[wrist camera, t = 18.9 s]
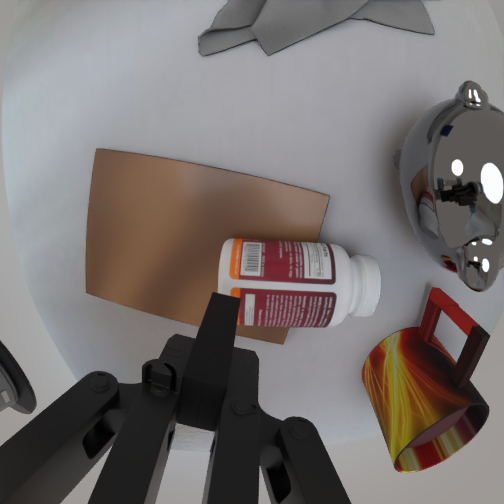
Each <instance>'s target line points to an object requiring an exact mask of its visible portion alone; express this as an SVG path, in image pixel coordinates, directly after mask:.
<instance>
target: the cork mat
mask: <svg viewBox="0 0 504 504" xmlns="http://www.w3.org/2000/svg"><path fill="white" fill-rule="evenodd" d="M329 199H330V196H329V195H326V194H322V193H319V192H315V191H311V190H308V189H304V188H300V187H297V186H293V185H289V184H285V183H281V182H277V181H273V180H269V179H265V178H261V177H256V176H252V175H248V174H243V173H239V172H234V171H230V170H225V169H220V168H215V167H210V166H205V165H200V164H195V163H190V162H185V161H179V160H173V159H168V158H162V157H156V156H149V155H143V154H136V153H130V152H123V151H115V150H107V149H98V148H97V149H96V152H95V158H94V165H93V172H92V179H91V187H90V196H89V207H88V219H87V236H86V293H88V294H91V295H93V296H96V297H99V298H102V299H105V300H108V301H112V302H115V303H118V304H121V305H124V306H127V307H131V308H134V309H137V310H140V311H144V312H147V313H151V314H154V315H158V316H161V317H165V318H168V319H172V320H176V321H180V322H183V323H187V324H191V325H195V326H199V327H200V325H201V322H202V320H203V317H204V314H205V311H206V309H207V306H208V303H209V301H210V298H211V295H212V292H216V293H218V272H219V262H220V256H221V251H222V247H223V245H224V243H225V242H226V241H227V240H228V239H255V240H275V241H292V242H309V243H317V241H318V237H319V234H320V231H321V227H322V224H323V220H324V217H325V213H326V210H327V206H328V202H329ZM288 330H289V327H277V326H252V325H237V328H236V334H235V335H238V336H242V337H247V338H252V339H256V340H261V341H266V342H272V343H277V344H282V345H283V344H284V341H285V338H286V336H287V333H288Z"/></svg>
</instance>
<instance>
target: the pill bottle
mask: <svg viewBox="0 0 504 504" xmlns="http://www.w3.org/2000/svg"><path fill="white" fill-rule="evenodd" d="M380 292H381V275H380V270H379V266H378V263H377V261H376V260H375V259H374V258H373V257H371V256H364V255H354V256H352V257H351V258H349V256H348V254H347V253H346V251H345V250H344V249H343V248H342V247H340V246H338V245H336V244H327V243H309V242H292V241H275V240H255V239H228V240H227V241H226V242H225V243H224V245H223V247H222V251H221V256H220V262H219V272H218V293H220V294H225V295H229V296H233V297H238V298H241V302H240V308H239V315H238V321H237V325H252V326H277V327H334V326H336V325H338V324H340V323H341V322H342V321H343V320H344V318H345V317H346V315H347V314H348V315H349V316H350V317H369V316H371V315H372V314H373V313H374V311H375V309H376V307H377V305H378V301H379V297H380Z"/></svg>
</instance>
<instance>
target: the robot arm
mask: <svg viewBox="0 0 504 504" xmlns="http://www.w3.org/2000/svg"><path fill="white" fill-rule="evenodd" d="M240 302H241V298H238V297H233V296H229V295H225V294H220V293H216V292H212V295H211V298H210V301H209V303H208V306H207V309H206V311H205V314H204V317H203V320H202V322H201V325H200V328H199V331H198V334H197V336H196V339H195V338H191V337H187V336H183V335H179V334H175V335H173V336H172V337H171V338H169V339H168V341H167V343H166V345H165V348H164V349H163V351H162V354H161V355H160V357H159V359H153V360H150V361H147V362H146V363H145V364H144V365H143V366H142V382H141V383H137V384H124V383H118V381H117V379H116V378H115V377H114V376H113V375H112V374H110V373H107V372H103V371H95V372H91V373H89V374H87V375H86V376H85V377H84V378H82V379H81V380H80V381H79V382H77V383H76V384H75V385H74V386H73V387H71V388H70V389H69V390H68V391H67V392H65V393H64V394H63V395H62V396H60V397H59V398H58V399H57V400H56V401H54V402H53V403H52V404H51V405H49V406H48V407H47V408H46V409H45V410H43V411H42V412H41V413H40V414H39V415H37V416H36V417H35V418H34V419H33V420H32V421H30V422H29V423H28V424H27V425H25V426H24V427H23V428H22V429H21V430H20V431H18V432H17V433H16V434H15V435H14V436H12V437H11V438H10V439H9V440H7V441H6V442H5V443H4V444H3V445H1V446H0V504H60V503H61V502H62V501H63V500H64V499H65V497H66V496H67V495H68V494H69V493H70V492H71V491H72V490H73V489H74V488H75V486H76V485H77V484H78V483H79V482H80V481H81V480H82V479H83V478H84V477H85V475H86V474H87V473H88V472H89V471H90V470H91V469H92V468H93V466H94V465H95V464H96V463H97V462H98V461H99V460H100V459H101V457H102V456H103V455H104V454H105V453H106V452H107V451H108V449H109V448H110V447H111V446H112V445H113V446H112V448H111V450H110V452H109V455H108V457H107V459H106V462H105V464H104V466H103V469H102V471H101V473H100V475H99V478H98V480H97V482H96V485H95V487H94V489H93V492H92V494H91V497H90V499H89V501H88V504H155V502H156V498H157V495H158V491H159V487H160V483H161V480H162V476H163V473H164V469H165V466H166V462H167V459H168V455H169V451H170V448H171V445H172V441H173V438H174V434H175V426H176V423H180V424H183V425H187V426H191V427H196V428H200V429H204V430H209V431H214V432H215V434H214V438H213V442H212V446H211V449H210V452H211V453H210V459H209V465H208V470H207V477H206V482H205V488H204V494H203V499H202V504H258V496H259V466H261V470H262V473H263V477H264V481H265V484H266V488H267V491H268V494H269V498H270V501H271V504H351V502H350V500H349V498H348V495H347V493H346V491H345V489H344V487H343V485H342V483H341V481H340V479H339V476H338V474H337V472H336V470H335V468H334V466H333V464H332V462H331V459H330V457H329V455H328V453H327V451H326V449H325V446H324V444H323V442H322V440H321V438H320V436H319V433H318V431H317V429H316V427H315V426H314V425H313V423H311V422H310V421H309V420H307V419H304V418H302V417H294V416H293V417H289V418H286V419H285V420H284V421H282V420H279V419H277V418H274V417H272V416H270V415H268V414H267V413H265V412H264V411H263V410H262V409H261V407H260V405H259V403H258V380H259V376H258V375H259V358H258V356H257V355H256V353H255V351H251V350H246V349H241V348H237V347H234V340H235V334H236V328H237V321H238V315H239V308H240ZM19 397H20V394H19V390H18V387H17V385H16V383H15V381H14V379H13V377H12V375H11V374H10V372H9V371H8V369H7V368H6V366H5V365H4V363H3V362H2V361H1V360H0V411H2V410H4V409H6V408H7V407H10V406H13V405H14V404H15V403H16V402H17V401H18V399H19Z"/></svg>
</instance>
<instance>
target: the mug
mask: <svg viewBox="0 0 504 504" xmlns="http://www.w3.org/2000/svg"><path fill="white" fill-rule="evenodd" d="M441 310H442V311H443V312H444V313H445V314H446V315H447V316H448V317H449V318H450V319H451V320H452V321H453V322H454V323H455V324H456V325H457V326H458V327H459V328H460V329H461V330H462V331H463V332H464V333H465V334H466V335H467V336H468V338H467V340H466V343H465V345H464V347H463V350H462V352H461V354H460V357H459V359H458V361H457V363H456V362H455V360H454V359H453V358H452V356H451V355H450V354H449V353H448V351H447V350H446V349H445V348H444V347H443V345H442V344H441V343H440V342H439V340H438V339H437V338H436V337H435V336H434V331H435V328H436V325H437V322H438V319H439V316H440V313H441ZM489 338H490V335H489V334H488V333H487V332H486V331H485V330H484V329H483V328H482V327H481V326H480V325H479V324H478V323H476V322H475V321H474V320H473V319H472V318H471V317H470V316H469V315H468V314H467V313H466V312H465V311H463V310H462V309H461V308H460V307H459V305H458V304H457V303H456V302H455V301H454V300H453V299H451V298H450V297H449V296H448V295H447V294H446V293H445V292H443V291H442V290H441V289H440V288H434V287H432V288H431V291H430V294H429V298H428V302H427V305H426V309H425V312H424V315H423V318H422V321H421V325H420V327H411V328H406V329H403V330H400V331H398V332H396V333H394V334H392V335H390V336H389V337H387V338H386V339H384V340H383V341H382V342H381V343H379V344H378V345H377V346H376V347H375V348H374V350H373V351H372V352H371V353H370V354H369V356H368V358H367V359H366V361H365V364H364V366H363V371H362V380H363V382H364V385H365V388H366V390H367V393H368V395H369V398H370V401H371V403H372V406H373V408H374V411H375V414H376V417H377V419H378V422H379V425H380V427H381V430H382V433H383V436H384V439H385V441H386V444H387V447H388V450H389V453H390V456H391V459H392V462H393V465H394V468H395V469H396V470H397V471H398V472H402V473H411V472H417V471H420V470H424V469H427V468H429V467H432V466H434V465H436V464H438V463H440V462H442V461H444V460H446V459H447V458H449V457H451V456H452V455H453V454H455V453H456V452H458V451H459V450H460V449H462V448H463V447H464V446H465V445H466V444H468V443H469V442H470V441H471V440H472V439H473V438H474V437H475V436H476V434H477V433H478V432H479V431H480V429H481V428H482V426H483V425H484V424H485V422H486V420H487V417H488V415H489V406H488V405H487V403H486V402H485V400H484V399H483V398H482V397H481V395H480V393H479V392H478V391H477V389H476V388H475V387H474V385H473V384H472V382H471V381H470V380H469V379H470V377H471V376H472V374H473V371H474V370H475V368H476V366H477V364H478V361H479V359H480V357H481V355H482V353H483V351H484V349H485V346H486V344H487V342H488V340H489Z"/></svg>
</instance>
